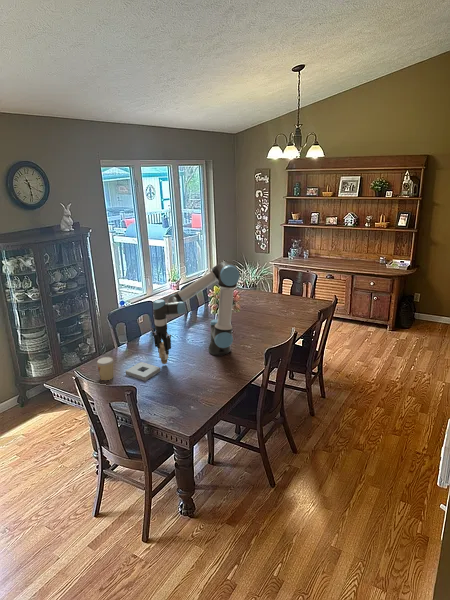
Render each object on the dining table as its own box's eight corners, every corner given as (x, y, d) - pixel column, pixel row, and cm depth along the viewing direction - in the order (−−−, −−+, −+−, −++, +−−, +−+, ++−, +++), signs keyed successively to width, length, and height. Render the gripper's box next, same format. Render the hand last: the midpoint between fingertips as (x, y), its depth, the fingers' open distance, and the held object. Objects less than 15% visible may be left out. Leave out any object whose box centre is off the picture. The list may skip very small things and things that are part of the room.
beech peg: (168, 362, 263) (167, 342, 258) (164, 364, 260) (163, 345, 255) (164, 360, 265) (162, 341, 260) (159, 363, 262) (158, 343, 257)
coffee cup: (100, 374, 253) (98, 357, 249) (116, 373, 253) (114, 356, 249) (97, 382, 244) (95, 364, 240) (113, 381, 244) (111, 363, 241)
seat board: (160, 371, 256) (160, 367, 255) (145, 380, 244) (144, 377, 243) (141, 365, 264) (141, 361, 263) (125, 374, 252) (125, 370, 251)
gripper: (175, 324, 252) (178, 358, 260) (154, 320, 261) (157, 352, 268) (167, 328, 246) (170, 363, 254) (146, 323, 255) (150, 357, 262)
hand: (164, 357), depth 261 cm, fingers closed on beech peg, 4 cm apart
